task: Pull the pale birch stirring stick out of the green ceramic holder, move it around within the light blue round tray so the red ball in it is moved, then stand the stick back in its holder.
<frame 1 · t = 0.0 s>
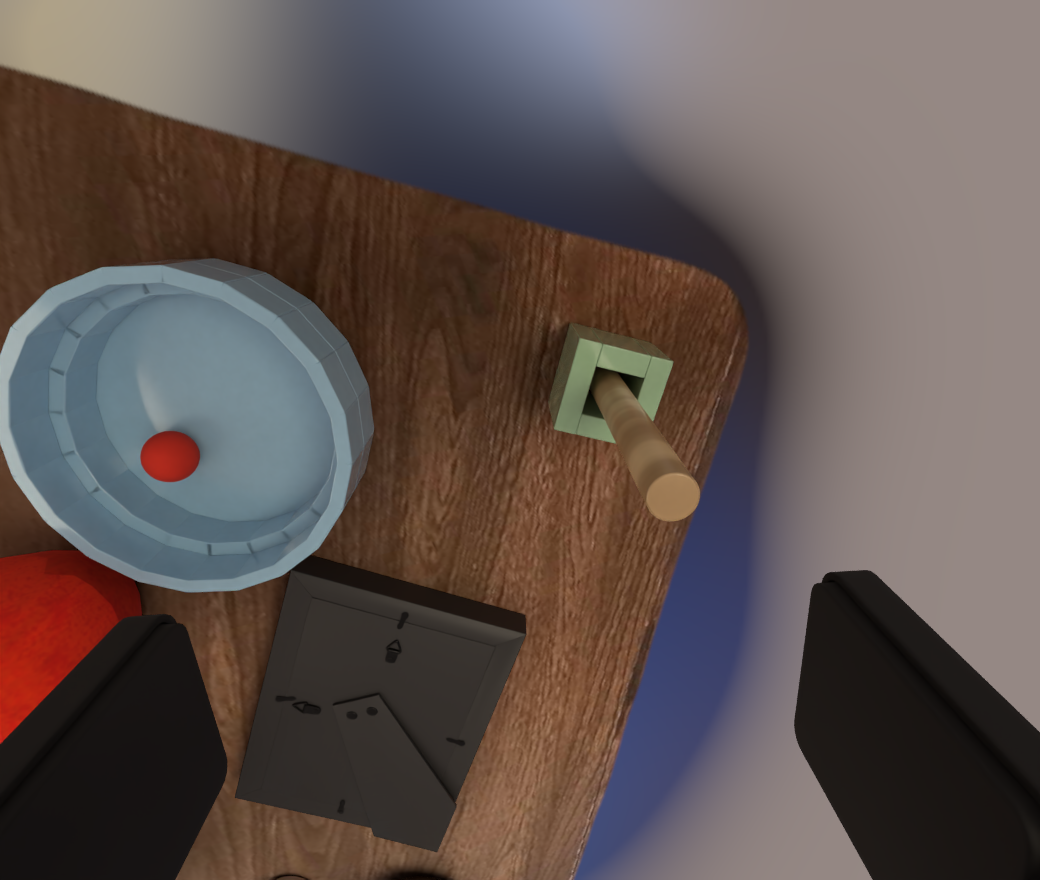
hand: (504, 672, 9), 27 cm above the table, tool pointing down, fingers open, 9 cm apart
apple: (99, 582, 40), on the table
holder: (598, 373, 35), on the table
ball: (170, 456, 34), point 2 cm above the table, touching light blue round tray
picture frame: (378, 696, 44), on the table
light blue round tray: (228, 410, 36), on the table
stick: (625, 417, 27), in the holder
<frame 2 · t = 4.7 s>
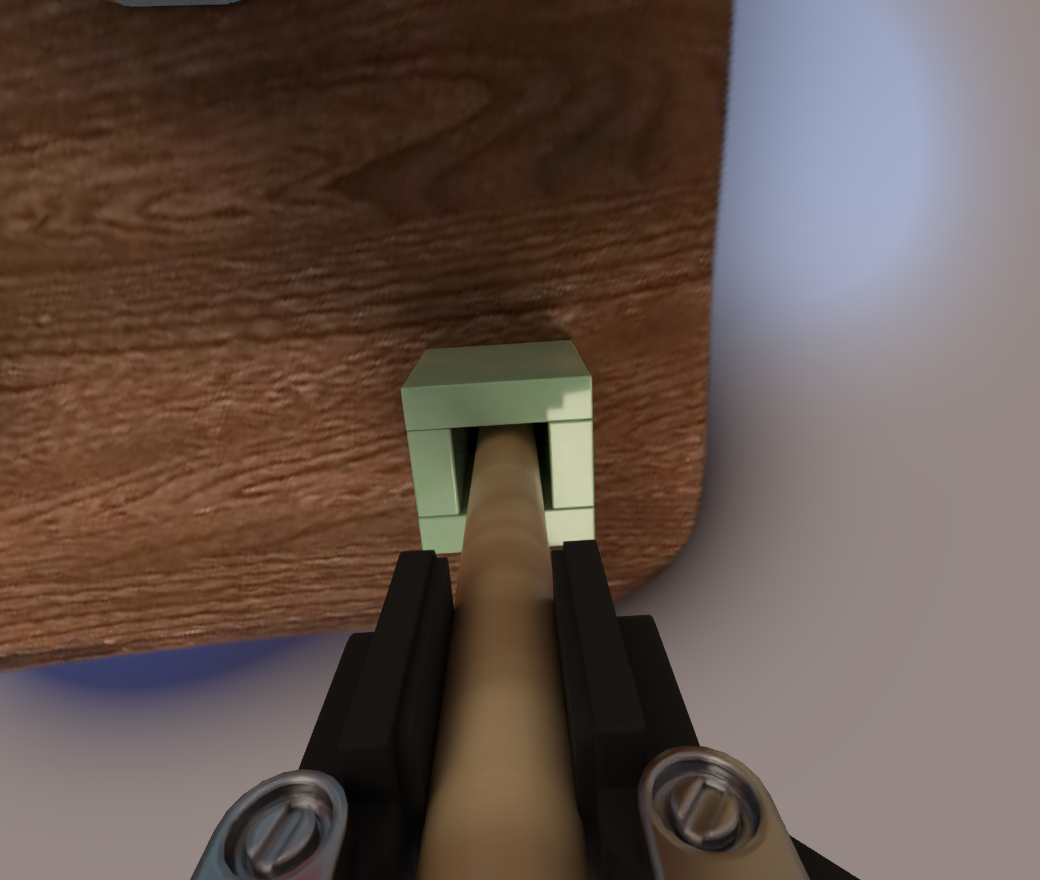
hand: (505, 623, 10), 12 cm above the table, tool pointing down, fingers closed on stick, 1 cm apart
holder: (503, 414, 21), on the table
stick: (505, 534, 13), in the holder, touching gripper
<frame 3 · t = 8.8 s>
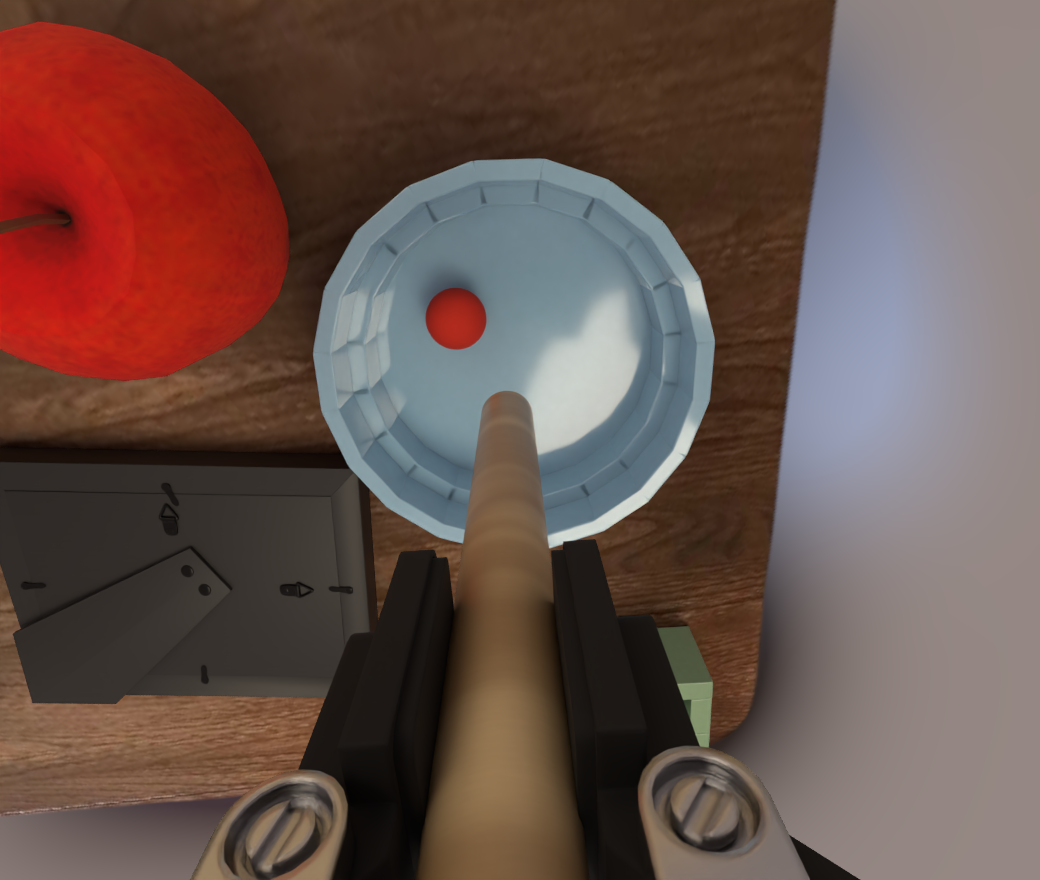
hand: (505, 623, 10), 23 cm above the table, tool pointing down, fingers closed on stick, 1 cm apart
apple: (217, 219, 30), on the table
holder: (649, 659, 39), on the table
ball: (456, 319, 29), point 2 cm above the table, touching light blue round tray
picture frame: (207, 568, 37), on the table
light blue round tray: (514, 350, 32), on the table
stick: (505, 534, 13), point 20 cm above the table, touching gripper
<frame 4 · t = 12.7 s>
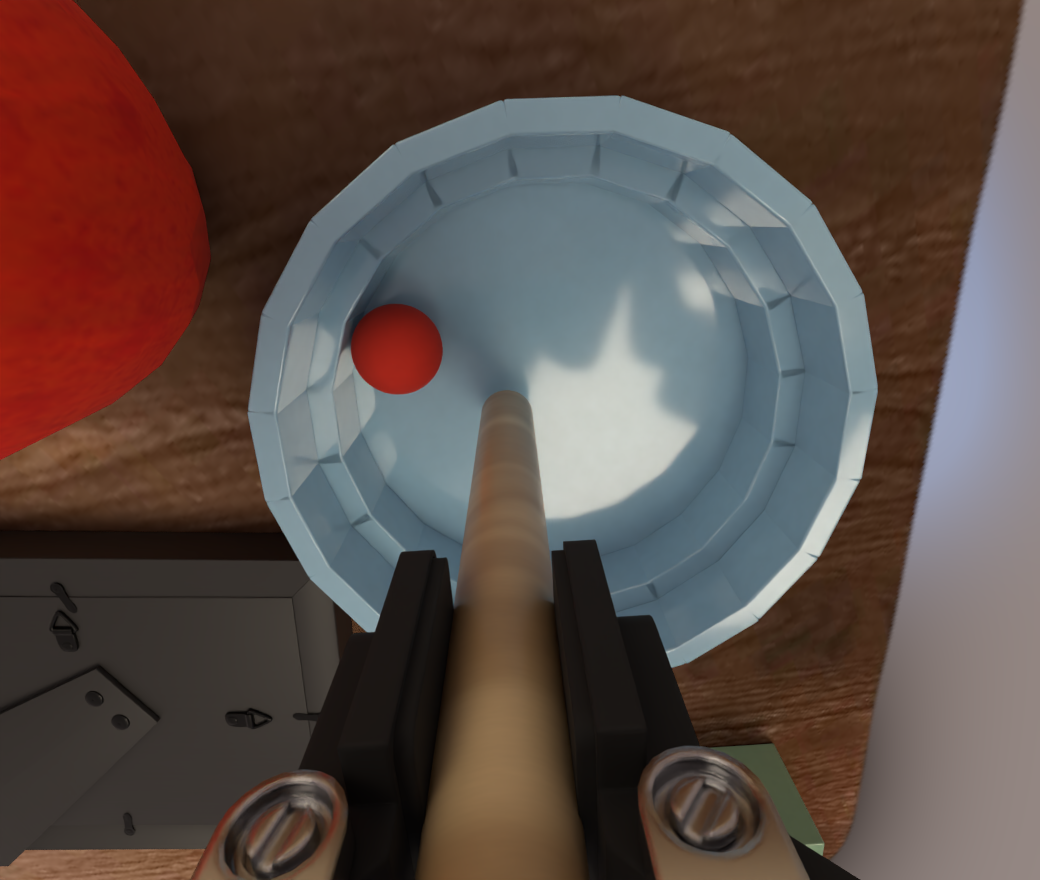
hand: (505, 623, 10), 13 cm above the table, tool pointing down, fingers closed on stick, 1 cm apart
apple: (116, 206, 20), on the table
holder: (720, 783, 30), on the table
ball: (397, 349, 20), point 2 cm above the table, tilted 91°, touching light blue round tray
picture frame: (131, 680, 27), on the table
light blue round tray: (550, 390, 23), on the table
stick: (505, 533, 13), point 10 cm above the table, touching gripper
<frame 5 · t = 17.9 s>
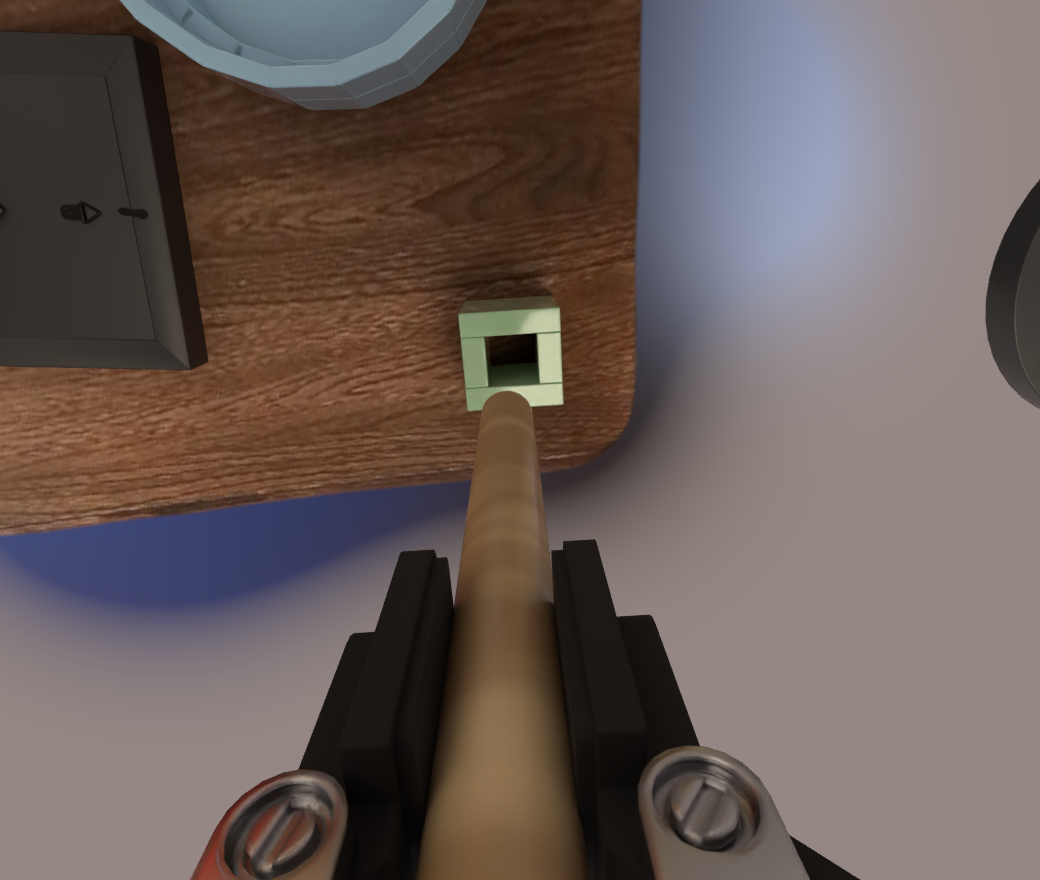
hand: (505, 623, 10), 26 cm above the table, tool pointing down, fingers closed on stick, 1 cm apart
holder: (512, 341, 34), on the table
stick: (505, 534, 13), point 23 cm above the table, touching gripper
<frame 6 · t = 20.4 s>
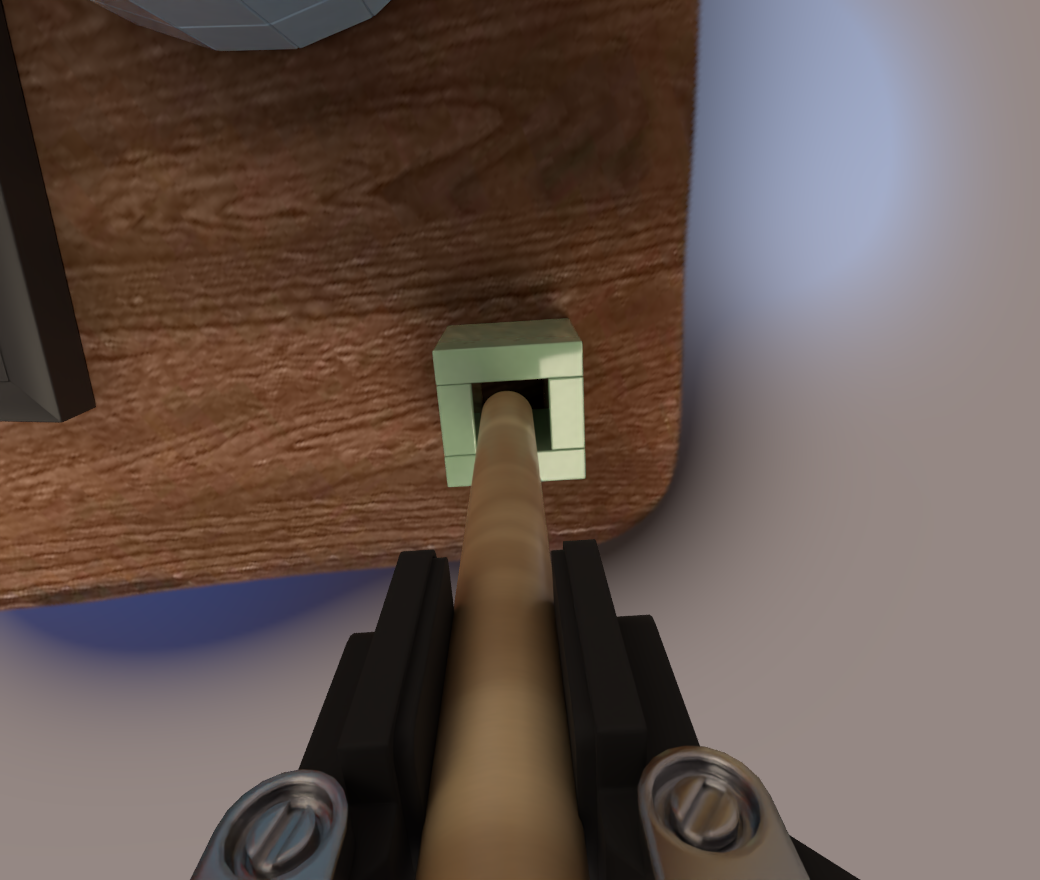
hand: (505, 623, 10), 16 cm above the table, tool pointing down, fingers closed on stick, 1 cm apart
holder: (512, 380, 25), on the table
stick: (505, 534, 13), point 13 cm above the table, touching gripper
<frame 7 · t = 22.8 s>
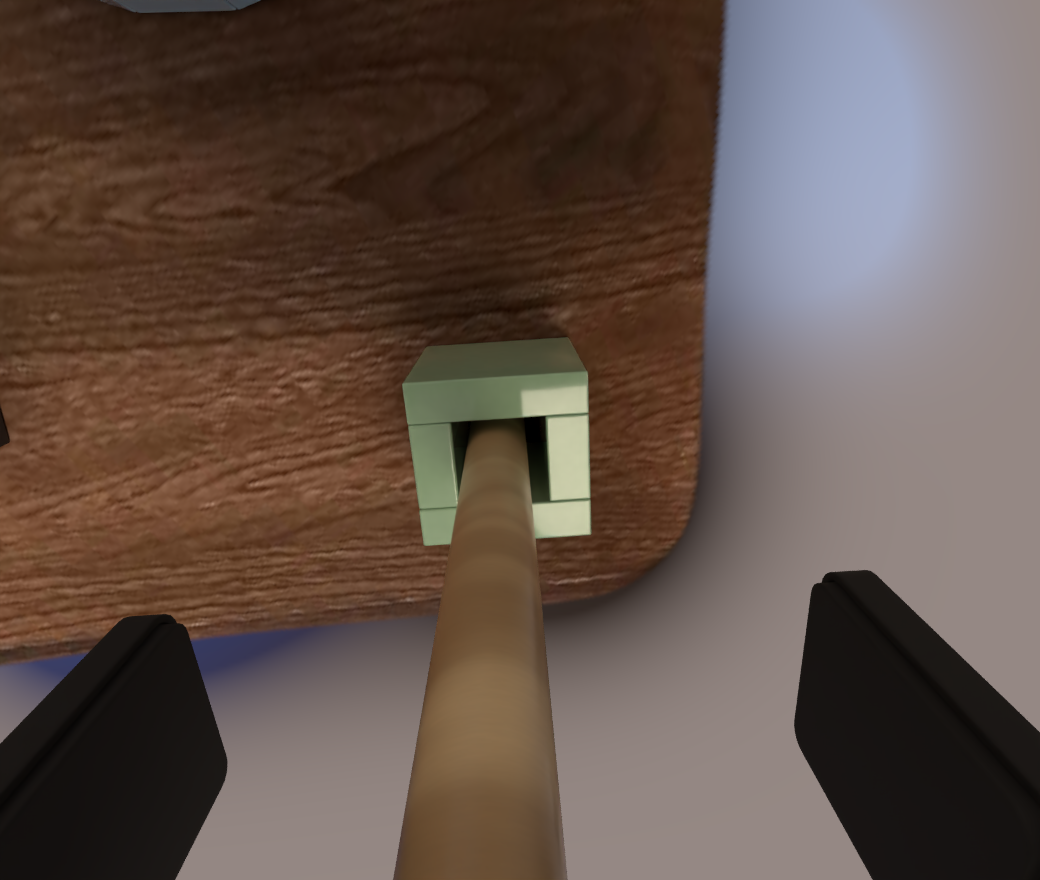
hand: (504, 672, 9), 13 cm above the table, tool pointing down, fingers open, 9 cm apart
holder: (502, 410, 21), on the table
stick: (494, 524, 13), in the holder
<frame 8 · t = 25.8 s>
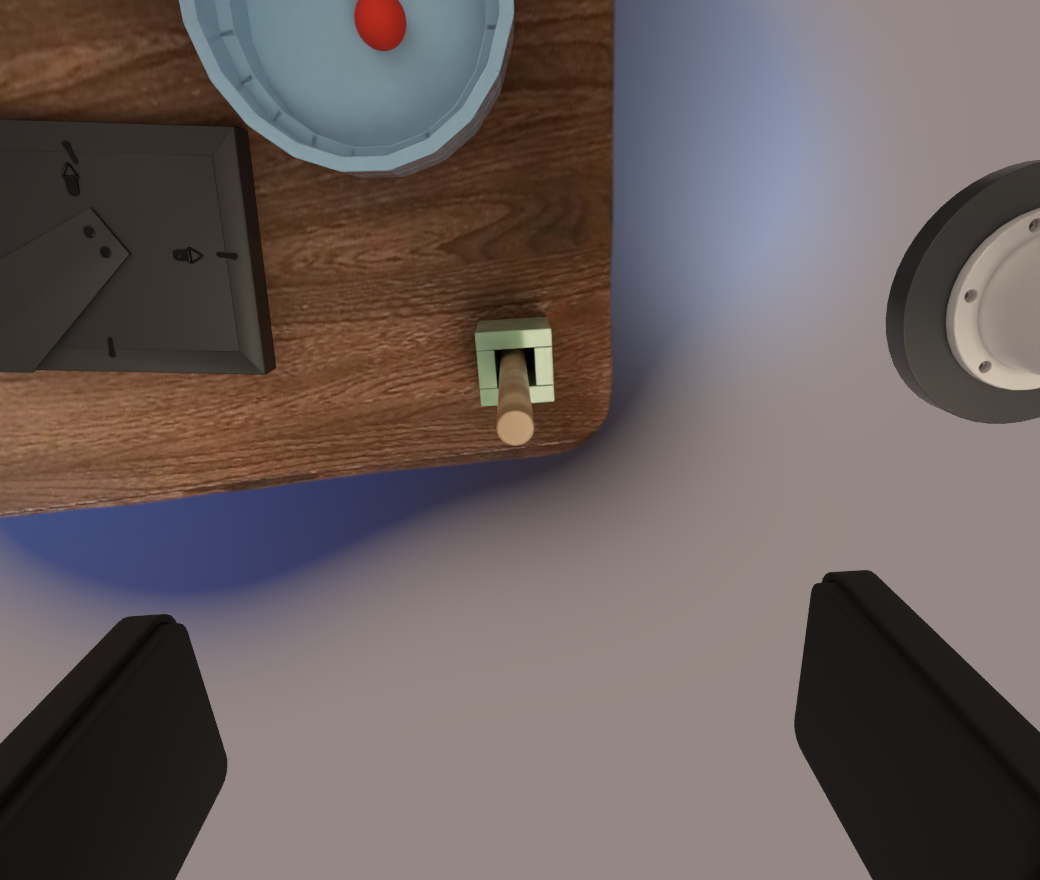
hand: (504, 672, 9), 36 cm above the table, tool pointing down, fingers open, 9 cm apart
holder: (514, 352, 44), on the table
ball: (380, 20, 35), point 2 cm above the table, tilted 157°, touching light blue round tray
picture frame: (113, 253, 41), on the table
light blue round tray: (370, 23, 37), on the table
stick: (513, 382, 36), in the holder
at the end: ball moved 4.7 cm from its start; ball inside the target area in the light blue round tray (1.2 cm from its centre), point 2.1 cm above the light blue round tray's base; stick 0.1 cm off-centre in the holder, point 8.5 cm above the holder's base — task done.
